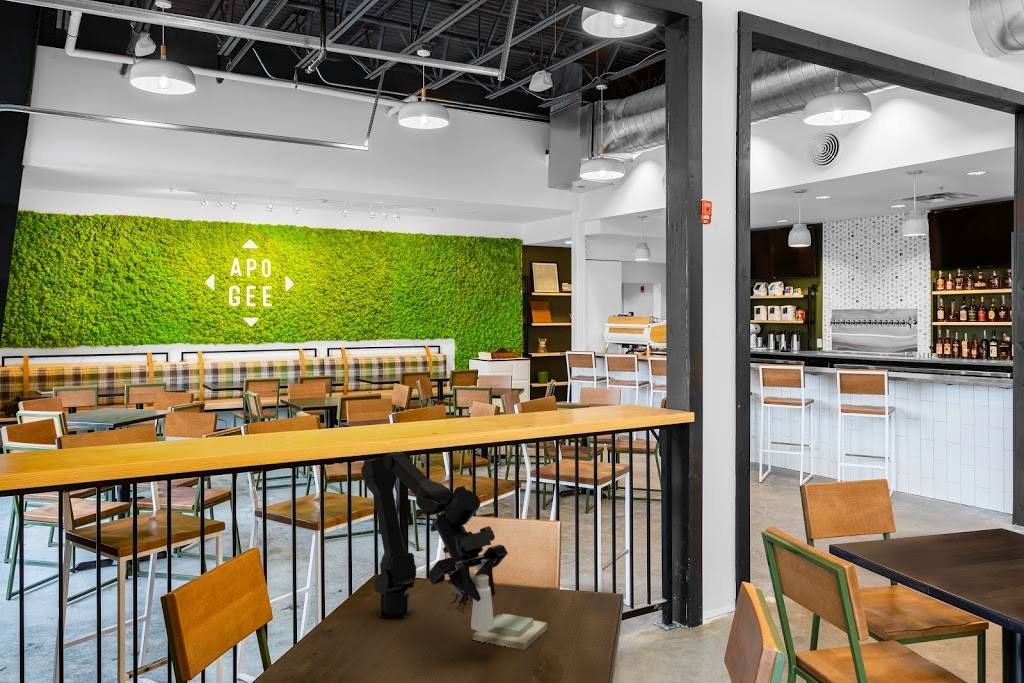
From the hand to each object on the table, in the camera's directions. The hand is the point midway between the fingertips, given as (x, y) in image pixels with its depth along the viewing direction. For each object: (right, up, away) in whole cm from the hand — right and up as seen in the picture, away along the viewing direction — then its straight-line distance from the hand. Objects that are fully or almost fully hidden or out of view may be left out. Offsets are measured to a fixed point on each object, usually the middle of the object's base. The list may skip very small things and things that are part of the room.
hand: (486, 598), depth 161 cm
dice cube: (-7, -13, +41) cm, 44 cm away
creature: (-7, -13, +31) cm, 34 cm away
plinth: (+5, -13, +13) cm, 19 cm away
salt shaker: (-1, -7, +1) cm, 7 cm away
